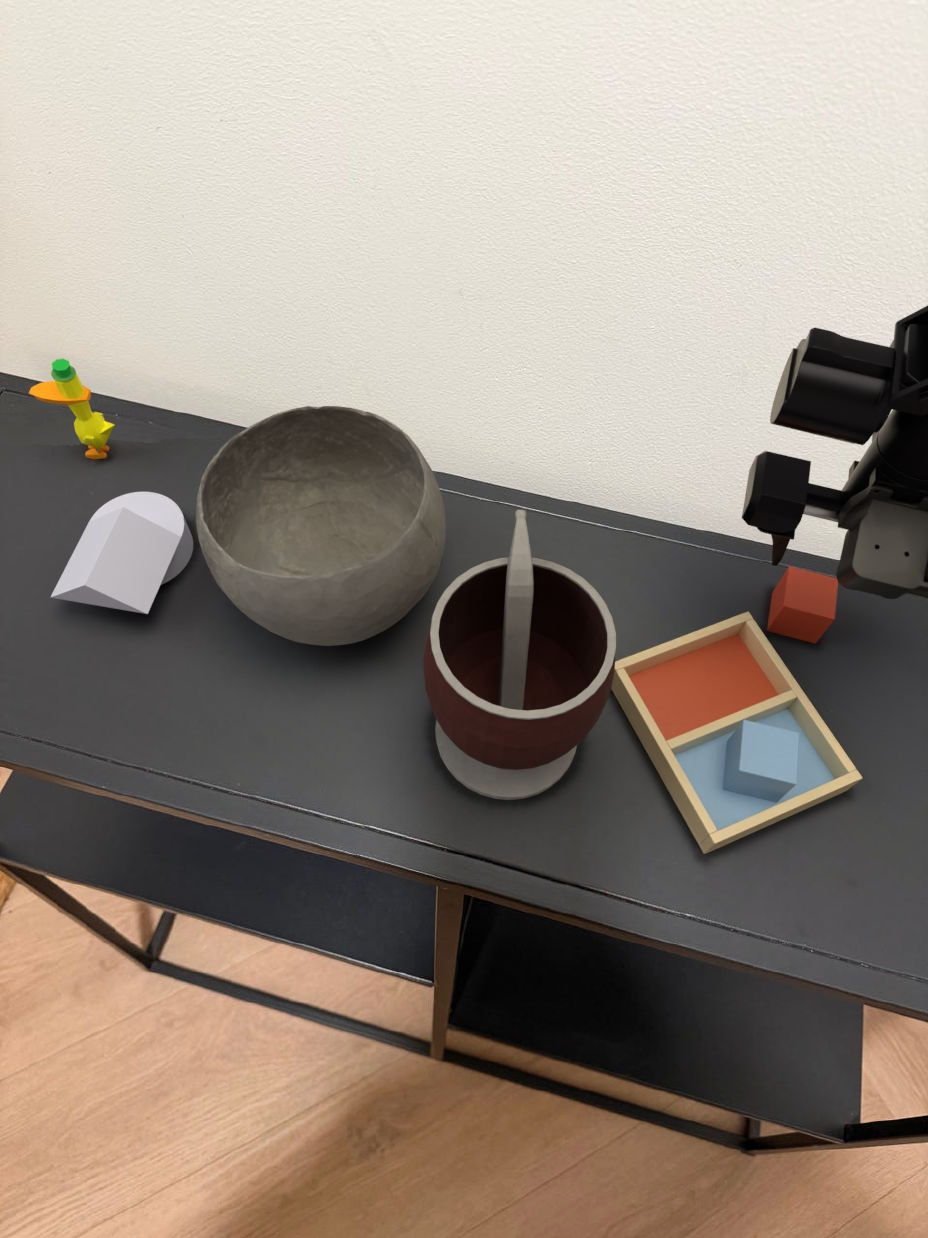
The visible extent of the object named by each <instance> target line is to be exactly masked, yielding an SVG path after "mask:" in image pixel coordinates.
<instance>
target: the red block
mask: <svg viewBox="0 0 928 1238" xmlns="http://www.w3.org/2000/svg"><path fill="white" fill-rule="evenodd" d="M838 589H839V582H838V580H837V577H832V576H828V575H825V574H820V573H817V572H813V571H810V570H805V569H801V568H797V567H794V566H788V567H787V568H786V570H785V572H784V573H783V575H782V577H781V578H780V580H779V581H778V583H777V584H776V586H775V587H774V589H773V591H772V593H771V598H770V607H769V613H768V621H767V629H766V631H767V632H770V633H774V634H776V635H777V634H778V635H780V636H781V635H782V636H784V637H789V638H793V639H796V640H799V641H804V642H807V643H810V644H814V645H815V644H816V643H817V642H818V641H819V640H820V639H821V637H822V636H823V635H824V633H825V632H826V631H827V630H828V629H829V627H830V626H831V625H832V624H833V622H834V621H835V620H836V613H837V611H836V610H837V601H838Z"/></svg>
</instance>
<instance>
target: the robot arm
mask: <svg viewBox="0 0 928 1238" xmlns="http://www.w3.org/2000/svg"><path fill="white" fill-rule="evenodd" d="M893 332H894V333H893V340H892V341H891V343H890V345H889V346H887V345H882V344H877V343H873V342H869V341H864V340H860V339H855V338H851V337H846V336H843V335H842V334H838V333H837V332H835V331H832V330H829V329H824V328H819V327H813V328H810V329H809V332H808V333H807V336H806V338H802V339H801V340H800V341H799V343H798V344H797V346H796V347H792V349H791V351H790V354H789V356H788V358H787V361H786V363H785V365H784V368H783V371H782V374H781V376H780V379H779V382H778V385H777V389H776V392H775V395H774V399H773V402H772V405H771V411H770V418H769V422H770V424H771V425H775V426H779V427H783V428H788V429H792V430H796V431H799V432H804V433H808V434H810V435H811V434H812V435H816V436H820V437H823V438H829V439H832V440H837V441H840V442H845V443H849V444H852V445H854V444H855V445H859V446H864V445H865V444H866V443H867V442H868V441H869V440H870V439H871V442H870V444H869V446H868V448H867V449H866V451H865V453H864V454H863V456H862V457H861V459H860V460H853V462H852V464H850V465H851V466H850V467H849V469H848V477H847V481H846V482H845V484H844V485H843V487H842V489H837V488H832V487H828V486H823V485H819V484H814V483H810V476H811V475H810V474H811V466H812V465H811V464H812V461H811V460H808V459H803V458H798V457H794V456H791V455H785V454H781V453H777V452H772V451H767V450H763V451H762V452H760V453H759V454H757V455H756V456H755V457H754V459H753V461H752V464H751V466H750V467H749V471H748V476H747V483H746V487H745V488H746V489H745V496H744V502H743V508H742V514H741V519H742V520H743V521H744V523H745V524H746V525H747V526H750V527H755V528H756V529H757V530H758V531H759V532H760V533H763V534H766V535H767V534H768V535H771V539H772V541H771V542H772V548H771V549H772V550H771V551H772V553H771V566H773V567H777V566H778V565H779V564H780V562H782V560H783V558H784V556H785V554H786V550H787V548H788V546H789V543H790V541H791V540H792V541H794V540H795V536H796V530H797V528H798V526H799V525H800V523H801V521H802V518H803V516H804V515H805V516H809V517H814V518H817V519H821V520H826V521H830V522H833V523H834V522H835V523H837V528H838V529H843V530H847V531H846V532H845V535H844V540H843V543H842V548H841V554H840V558H839V563H838V566H837V568H836V573H835V576H836V578H837V580H838V584H839V585H840V586H841V587H843V588H845V589H848V590H852V591H858V592H863V593H866V594H871V595H875V596H878V597H881V598H883V599H887V600H896V599H898V598H900V597H903V596H904V595H906V594H909V595H911V596H917V597H920V598H924V599H928V305H926V306H924V307H922V308H920V309H918V310H916V311H914V312H913V313H911V314H908V315H907V316H905V317H903V318H901V319H898V320H897V321H896V322H895V324H894V331H893Z"/></svg>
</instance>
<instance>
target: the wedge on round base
mask: <svg viewBox="0 0 928 1238" xmlns="http://www.w3.org/2000/svg"><path fill="white" fill-rule="evenodd" d="M192 535H193V534H192V533H191V530H190V528H189V525H188V524H187V520H186V519H185V516H184V514H183V511H182V509H181V508H180V507H179V505H178V504H177V503H176V502H175V501H174V500H172V499H171V498H170V497H168V496H166V495H164V494H161V493H158V492H152V491H134V492H129V493H125V494H122V495H119V496H117V497H114V498H112V499H110V500H109V501H107V502H105V503H104V504H103V505H102V506H100V507H99V508H98V509H97V510H96V511H95V513H94V514H93V515H92V516H91V518H90V519H89V521H88V523H87V525H86V527H85V529H84V531H83V533H82V534H81V537H80V538H79V541H78V542H77V544H76V546H75V549H74V550H73V552H72V554H71V556H70V558H69V560H68V561H67V564H66V566H65V568H64V570H63V572H62V573H61V576H60V577H59V579H58V582H57V583H56V586H55V587H54V589H53V591H52V593H51V595H50V599H51V598H52V599H55V600H63V601H68V602H73V603H81V604H86V605H92V606H96V607H97V606H98V607H102V608H103V607H104V608H109V609H116V610H121V611H128V612H133V613H139V614H145V615H149V612H150V610H151V608H152V605H153V603H154V601H155V598H156V596H157V594H158V592H159V589H160V587H161V585H164V584H167V583H168V582H170V581H171V580H173V579H174V578H176V577H177V576H178V575H179V574H180V573H182V571H183V570H184V569H185V568H186V566H187V565H188V564H189V562H190V560H191V558H192V556H193V551H194V538H193V536H192Z"/></svg>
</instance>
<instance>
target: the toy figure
mask: <svg viewBox="0 0 928 1238" xmlns="http://www.w3.org/2000/svg"><path fill="white" fill-rule="evenodd" d="M51 368H52V370H51V372H50V374H51V375H50V376H51V377H52V379H53V380H50V381H49V380H48V381H44V382H43V381H42V382H39V383H37V384H35V385H33V386H31V387H30V390H29V392H28V394H29V395H31V396H33V397H34V398H35V399H36V400H37V401H40V402H44V403H47V404H54V405H66V406H68V408H69V409H70V411H71V412H72V414H74V416H75V420H74V422H73V427H74V432H75V434H76V436H77V438H78V440H79V441H80V443H81V444H82V445H87V448H88V450H87V451H85V455H84V456H85V457H86V458H87V459H91V460H100V459H101V460H102V459H106V458H107V455H108V454H107V452H109V450H110V449H111V448H110V446H109V445H107V443H108V440H109V438H110V435H111V433H112V431H113V430H114V428H115V424H114V423H112V422H109V421H107V420H105V417H104V414H103V413H102V412H99V411H94V412H93V411H92V409H91V406H90V402H89V401H90V400H91V398H92V397H91V396H92V393H91V392H92V390H91V389H90V388H88V387H86V386H85V385H83V383H82V382H81V379H80V377H79V376H78V373H77V371H76V368H75V367H73V366H72V365H70V360H68V359H65V358H57V359H55V360H54V361H52V363H51ZM98 448H100V450H99V451H96V449H98Z"/></svg>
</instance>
